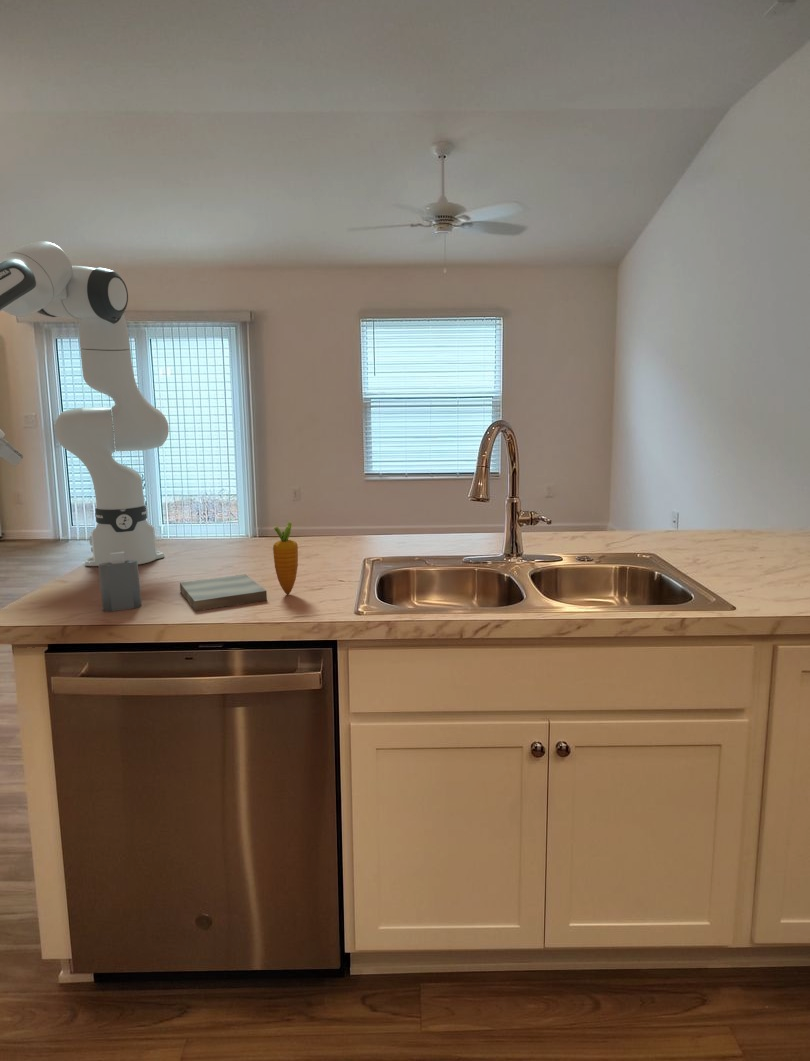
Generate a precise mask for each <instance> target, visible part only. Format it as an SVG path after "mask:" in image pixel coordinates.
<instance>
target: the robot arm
mask: <svg viewBox="0 0 810 1061" xmlns="http://www.w3.org/2000/svg"><path fill="white" fill-rule="evenodd" d="M128 302H129V292H128V288H127V285H126V283H125V281H124V280H123V279H122V277H121V275H120V274H119V273H117V272H116V271H114V270H111V269H109V268H104V267H90V266H83V265H73V264H72V262H71V259H70V257H69V256H68V254H67V253H66V252H65V251H64V250H63V249H62V248H61V247H60V246H59V245H57V244H55V243H52V242H50V241H47V240H46V241H45V240H39V241H33V242H31V243H27V244H24V245H22V246H19V247H17V248H15V249H13V250H11V251H9V252H8V253H6V254H3V256H1V257H0V312H1V311H3V312H4V313H7V314H9V315H11V316H14V317H19V318H25V317H28V316H30V315H34V314H35V313H38V314H40V315H43V316H47V317H51V318H57V317H58V318H63V319H69V320H70V319H71V320H78V324H79V325H78V337H79V339H78V341H79V351H80V360H81V369H82V370H81V371H82V378H83V380H84V382H85V383H86V384H87V385H88V387H90V388H91V389H93V390H95V391H97V392H99V393H101V394H104V395H106V396H108V397H109V398H111V399H112V400H113V402H114V405H113V406H93V407H92V406H90V407H84V406H83V407H78V408H77V407H76V408H72V409H67V410H63V411H62V412H61V413H60V414H59V415H58V416H57V418H56V420H55V423H54V433H55V434H54V435H55V437H56V440H57V442H58V443H59V445H60V446H62V448H64V449H65V450H66V451H68V452H69V453H71V454H73V455H74V456H75V457H77V458H78V459H79V461H81V462H82V463H83V465H84V466H85V468H86V469H87V472H89V475H90V478H91V481H92V484H93V490H94V496H95V504H96V508H95V509H94V510H95V513H94V517H95V522H96V523H97V524H96V526H95V528H94V529H92V531H91V532H90V534H91V535H89V539H88V540H89V546H91V547H90V551H91V554H90V555H89V556H88V558H87V559H86V560H85V561H84V562H85V563H84V566H86V567H98V565H99V564H102V563H108V562H111V557H110V553H115V552H124V557H125V561H126V560H137V562H138V565H142V564H143V565H144V564H146V563H150V562H152V561H156V560H158V559H162V558H165V553H164V552H162V551H160V550H157V549H158V548H157V540H156V533H155V527H154V526H153V525H152V524H150V523H149V522H148V520H147V519H148V510H147V506H146V504H145V503H144V501H145V499H144V490H143V489H144V488H143V478H142V477H141V475H140V473H139V472H138V471H137V470H135V469H133V468H132V467H130V466H128V465H125V464H122V463H119V462H118V461H116V460H115V459H114V458H113V455H112V454H114V453H115V452H136V451H137V452H139V451H148V450H152V449H156V448H160V447H162V446H163V445H164V444H165V442H166V441H167V438H168V436H169V430H170V429H169V424H168V419H167V417H165V415H164V414H163V413H162V411H160V410H159V409H158V408H156V407H155V406H154V405H152V404H151V403H150V402H149V401H148V400H147V399H146V398H145V397H144V396H143V394H142V392H141V391H140V389H139V387H138V384H137V383H136V379H135V374H134V368H133V362H132V353H131V352H132V350H131V343H130V336H129V330H128V326H127V322H126V318H125V315H124V313H125V312H126V310H127V307H128V304H129V303H128ZM5 436H6V434H5V432H4V431H3V430H2V429H1V428H0V458H2V459H3V460H5V461H7V462H8V463H9V464H11V465H12V466H14V467H16V466H18V465H19V464H20V463H21V462H22V460H23V458H24V454H22V453H21V452H20V451H18V450H17V449H16V448H15V447H14V446H13V445H12V444H11V443H10V442H9V441H7V439H5V438H4V437H5ZM89 562H90V563H89ZM85 564H86V565H85Z"/></svg>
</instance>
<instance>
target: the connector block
mask: <svg viewBox="0 0 810 1061" xmlns="http://www.w3.org/2000/svg"><path fill="white" fill-rule="evenodd" d="M110 557H111V562H108V563H102V564H99V565H98V566H97V567H98V574H99V575H98V576H99V585H100V595H101V605H102V611H103V612H105V611H110V612H117V611H123V610H132V609H136V608H137V609H138V608H140V607H142V597H141V596H142V595H141V585H140V574H139V573H140V572H139V564H138V562H137V560H126V561H125V557H124V552H115V553H110ZM116 610H117V611H116Z"/></svg>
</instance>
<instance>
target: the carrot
mask: <svg viewBox="0 0 810 1061" xmlns="http://www.w3.org/2000/svg"><path fill="white" fill-rule="evenodd" d="M292 525H293V523H292V522H289V521H288V523H287V525H286V527H285V529H284V530H282V531H281V530H280V528H279V526H274V527H273V529H274V531H275V532H276V534H277V535H278V537H279V539H280V540H278V541H275V543H274V544H273V548H272V551H273V563H274V569H275V574H276V576H277V580H278V582H279V585H280V587H281V590H283V592H284V594H285V595H288V594H289V595H290V593H292V590H293V588H294V586H295V582H296V580H297V573H298V567H299V566H298V565H299V562H298V561H299V554H298V553H299V551H298V549H299V547H298V543H297V542H296V541H295V540H292V539H289V538H290V535H291V532H292V531H291V530H292ZM289 595H288V596H289Z"/></svg>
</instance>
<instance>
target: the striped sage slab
mask: <svg viewBox="0 0 810 1061" xmlns="http://www.w3.org/2000/svg"><path fill="white" fill-rule="evenodd" d="M179 588H180V590H179V591H181V592H182V593H181V592H180V593H181V595H182V596H183V595H184V596H185V597H184V596H183V597H184V598H185V599H187V600H188V601H187V600H186V601H187V602H188V604H189V603H190V604H191V605H190V604H189V605H190V606H191V607H193V608H194V609H193V608H192V609H193V611H194V612H198V611H197V610H200V611H205V610H204V609H207V610H212V609H211V608H214V609H218V607H220V608H225V607H224V606H227V607H231V606H230V605H233V606H238V605H237V604H240V605H244V604H243V603H247V604H251V603H259V601H260V602H265V600H267V601H268V599H267V598H268V597H267V596H268V595H267V590H266V589H265V588H263V586H261V585H259V583H257V582H256V581H255V580H253V579H252V578H251V577H250V576H249V575H247V574H246V573H245V574H244V573H243V574H238V575H237V574H236V575H229V576H221V577H212V578H207V579H200V580H191V581H183V582H182V581H181V582H179Z"/></svg>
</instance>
